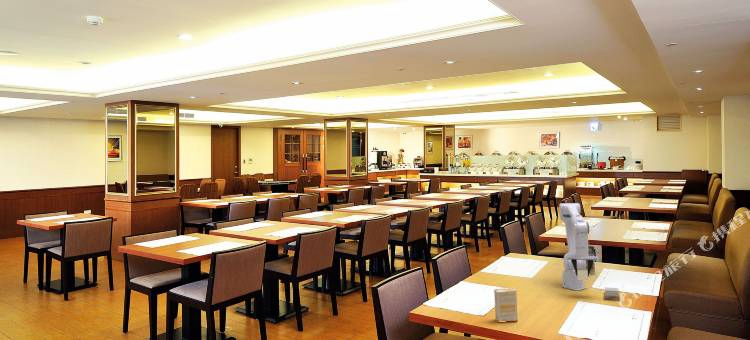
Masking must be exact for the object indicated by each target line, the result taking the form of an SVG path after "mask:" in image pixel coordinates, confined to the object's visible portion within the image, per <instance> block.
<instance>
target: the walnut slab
mask: <svg viewBox="0 0 750 340" xmlns="http://www.w3.org/2000/svg"><path fill="white" fill-rule="evenodd" d="M603 300H604V301H608V302H620V301H621V296H620V295H619V297H617V296H606V294H605V292H603Z"/></svg>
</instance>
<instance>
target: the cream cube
mask: <svg viewBox="0 0 750 340" xmlns="http://www.w3.org/2000/svg"><path fill="white" fill-rule="evenodd" d="M577 273H578V280H583V281H589V276H588V269H584V268H577Z"/></svg>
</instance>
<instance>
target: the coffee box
mask: <svg viewBox="0 0 750 340" xmlns="http://www.w3.org/2000/svg"><path fill="white" fill-rule="evenodd" d="M588 255H589V256H595V246H593V245H589V244H588ZM595 267H596V261H593V265H592V267H591V270H590V274H595V275H596V268H595ZM586 269H588V261H586Z"/></svg>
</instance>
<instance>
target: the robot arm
mask: <svg viewBox="0 0 750 340" xmlns="http://www.w3.org/2000/svg"><path fill="white" fill-rule="evenodd" d="M558 213H559V217H560V220H561V221H562V222H563V223H564V228H565V233H566V242H567V250H568V252H566V253H565V254H564V256H563V268H564V270H563V272H562V275H561V276H562V278H561V279H562V280H561V281H562V286H561V288H563V287H564V288H565V289H568V290H572V291H582V290H586V289H587V288H588V287H587V286H584V280H578V273H577V268H584V269H586V261H588V277H590V275H589V274H590V270H591V267H592V265H593V261H595V262H600V257H599V256H589V255H588V245H589V234H590V224H589V222H588V221H585V219H584V218H583V216H582V215H581V204H580V203H579V202H575V203H574V202H573V203H567V202H566V203H565V202H564V203H559V206H558Z"/></svg>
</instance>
